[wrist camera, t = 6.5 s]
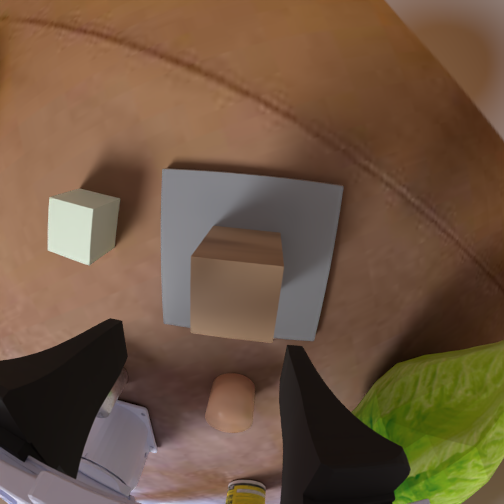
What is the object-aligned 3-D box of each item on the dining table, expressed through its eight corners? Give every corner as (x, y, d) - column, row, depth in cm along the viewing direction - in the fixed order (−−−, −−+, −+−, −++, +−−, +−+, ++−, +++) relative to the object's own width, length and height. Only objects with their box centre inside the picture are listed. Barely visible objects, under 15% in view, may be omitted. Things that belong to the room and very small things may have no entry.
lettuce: (509, 342, 23) (576, 426, 9) (353, 448, 29) (371, 553, 14) (485, 247, 20) (607, 336, 6) (283, 391, 26) (284, 542, 11)
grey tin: (131, 389, 27) (114, 423, 23) (96, 380, 27) (76, 410, 23) (124, 359, 26) (103, 393, 21) (87, 349, 26) (64, 379, 21)
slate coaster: (312, 335, 23) (313, 341, 23) (166, 318, 24) (163, 323, 23) (340, 184, 19) (343, 186, 19) (166, 168, 20) (162, 169, 19)
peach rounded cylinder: (253, 404, 26) (250, 435, 23) (212, 398, 27) (205, 429, 23) (257, 375, 25) (255, 408, 21) (212, 370, 25) (204, 401, 22)
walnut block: (272, 293, 21) (272, 343, 16) (210, 286, 22) (190, 332, 16) (280, 232, 20) (284, 266, 14) (213, 225, 20) (190, 256, 14)
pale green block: (115, 247, 22) (89, 265, 18) (76, 234, 22) (47, 250, 18) (120, 198, 21) (93, 209, 17) (80, 188, 21) (49, 197, 17)
